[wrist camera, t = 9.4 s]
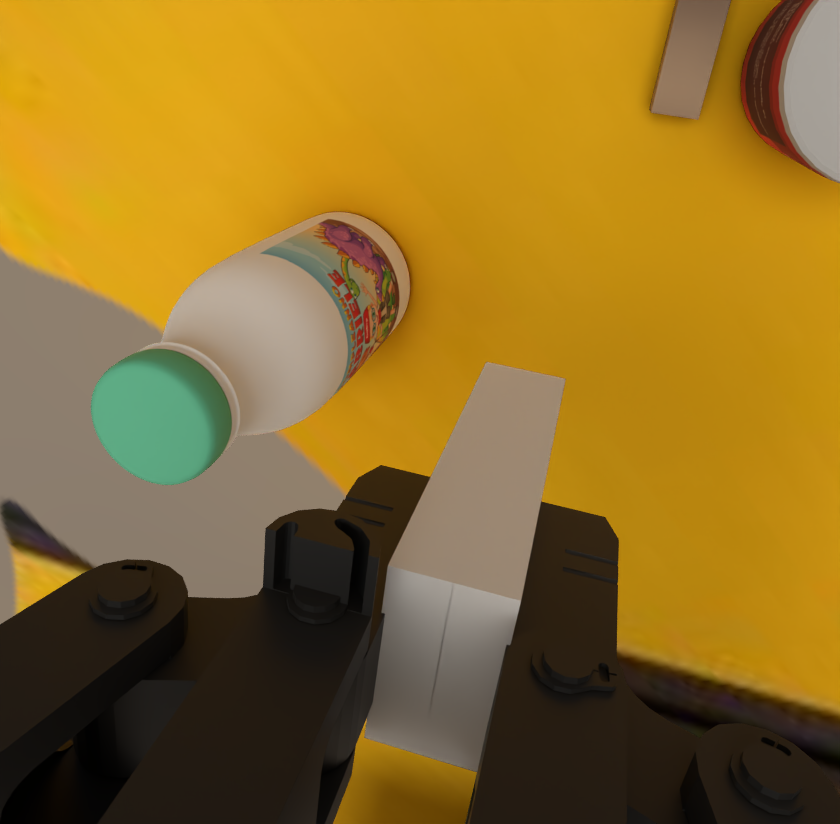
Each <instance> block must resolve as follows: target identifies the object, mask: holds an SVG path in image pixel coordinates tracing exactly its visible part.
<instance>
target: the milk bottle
mask: <svg viewBox="0 0 840 824" xmlns="http://www.w3.org/2000/svg"><path fill="white" fill-rule="evenodd" d="M409 296H410V278H409V272H408V268H407V264H406V261H405V259H404V257H403V254H402V252H401V251H400V249H399V247H398V246H397V244H396V243H395V241H394V240H393V239H392V238H391V236H390V235H389V234H388V233H387V232H386V231H385V230H383V229H382V228H381V227H380V226H378V225H377V224H375V223H374V222H372V221H370V220H369V219H367V218H364V217H362V216H359V215H356V214H352V213H346V212H329V213H324V214H321V215H318V216H315V217H312V218H309V219H307V220H305V221H303V222H301V223H298V224H296V225H294V226H292V227H290V228H288V229H285V230H283V231H281V232H279V233H277V234H275V235H273V236H271V237H268V238H266V239H264V240H262V241H260V242H258V243H256V244H254V245H252V246H250V247H248V248H246V249H244V250H242V251H240V252H238V253H236V254H234V255H232V256H230V257H229V258H227V259H225V260H223V261H222V262H220V263H218V264H216V265H215V266H213V267H211V268H210V269H208V270H207V271H206V272H205V273H203V274H202V275H201V276H200V277H198V278H197V279H196V280H195V281H194V282H193V283H192V284H191V285H190V286H189V287H188V288H187V289H186V291H185V292H184V293H183V294H182V296H181V297H180V298H179V300H178V302H177V303H176V305H175V307H174V308H173V310H172V312H171V314H170V316H169V319H168V322H167V324H166V327H165V331H164V334H163V338H162V340H161V342H160V343H155V344H151V345H149V346H146V347H144V348H142V349H141V350H139V351H138V352H137V353H134V354H132V355H130V356H128V357H127V358H125V359H123V360H121V361H119V362H118V363H117V364H115V365H114V366H112V367H111V368H109V369H108V370H107V371H106V372H105V373H104V375H103V376H102V377H101V378H100V380H99V381H98V383H97V385H96V386H95V389H94V391H93V395H92V400H91V414H92V420H93V424H94V428H95V430H96V433H97V435H98V437H99V439H100V441H101V443H102V444H103V446H104V447H105V449H106V450H107V452H108V453H109V454H110V456H111V457H112V458H113V459H114V460H115V461H116V462H117V463H118V464H119V465H120V466H122V467H123V468H124V469H126V470H127V471H128V472H130V473H132V474H133V475H135V476H137V477H139V478H141V479H143V480H146V481H149V482H152V483H156V484H162V485H174V484H180V483H183V482H186V481H189V480H191V479H194V478H196V477H197V476H199V475H200V474H201V473H203V472H204V471H205V470H206V469H207V468H209V467H210V466H211V465H212V464H213V463H214V462H215V461H216V460H217V459H218V458H219V457H220V456H221V454H223V453H224V452H225V451H226V450H228V449H229V448H230V446H231V445H232V444H233V442H234V440H235V439H236V436H240V435H256V434H264V433H270V432H274V431H278V430H281V429H284V428H287V427H289V426H292V425H294V424H296V423H298V422H300V421H302V420H304V419H305V418H307V417H308V416H310V415H311V414H313V413H314V412H316V411H317V410H318V409H319V408H321V407H322V406H323V405H324V404H325V403H326V402H327V401H328V400H329V399H330V398H331V397H332V396H333V395H335V394H336V393H337V392H338V391H339V390H340V389H341V388H342V387H343V385H344V384H345V383H346V382H347V381H348V380H349V379H350V378H351V377H352V376H353V375H354V374H355V373H356V372H357V371H358V369H359V368H360V367H361V366H362V365H363V364H364V363H365V362H366V361H367V360H368V358H369V357H370V356H371V355H372V354H373V353H374V352H375V351H376V350H377V349H378V347H379V346H380V345H381V344H382V343H383V342H384V341H385V340H386V338H387V337H388V336H389V335H390V334H391V333H392V331H393V330H394V329H395V328H396V326H397V325H398V324H399V322H400V321H401V319H402V317H403V315H404V313H405V311H406V308H407V305H408V301H409Z"/></svg>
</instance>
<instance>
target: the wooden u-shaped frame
mask: <svg viewBox="0 0 840 824" xmlns="http://www.w3.org/2000/svg"><path fill="white" fill-rule="evenodd" d="M730 2H731V0H676V2H675V7H674V11H673V15H672V19H671V23H670V27H669V31H668V35H667V39H666V43H665V47H664V51H663V56H662V60H661V64H660V68H659V72H658V76H657V80H656V84H655V88H654V92H653V96H652V100H651V105H650V109H649V110H650V111H651V113H658V114H665V115H671V116H678V117H684V118H691V119H699V115H700V112H701V108H702V104H703V101H704V97H705V93H706V90H707V86H708V82H709V79H710V75H711V71H712V68H713V64H714V60H715V57H716V53H717V49H718V46H719V42H720V38H721V35H722V31H723V27H724V24H725V20H726V16H727V13H728V9H729V6H730Z"/></svg>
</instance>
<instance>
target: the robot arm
mask: <svg viewBox="0 0 840 824" xmlns="http://www.w3.org/2000/svg"><path fill="white" fill-rule="evenodd" d="M564 384H565V379H564V378H560V377H555V376H550V375H546V374H541V373H536V372H532V371H527V370H522V369H518V368H513V367H508V366H504V365H499V364H494V363H489V362H486V364H485V366H484V368H483V370H482V372H481V374H480V376H479V378H478V380H477V382H476V384H475V386H474V389H473V391H472V393H471V395H470V397H469V399H468V401H467V403H466V405H465V407H464V409H463V411H462V413H461V415H460V417H459V420H458V422H457V424H456V426H455V428H454V430H453V432H452V434H451V436H450V438H449V440H448V442H447V444H446V446H445V448H444V451H443V453H442V455H441V457H440V459H439V461H438V463H437V465H436V467H435V469H434V471H433V473H432V475H431V477H428V476H423V475H419V474H415V473H411V472H407V471H403V470H399V469H395V468H391V467H386V466H382V465H380V466H379V467H377V468H375V469H373V470H371V471H370V472H368V473H366V474H364V475H362V476H361V477H359V478H358V479H357V480H356V482H355V483H354V485H353V486H352V488H351V489H350V491H349V492H348V494H347V495H346V499H345V500H343V502H342V503H341V505H340V506H339V508H338V509H337V511H334V510H326V509H311V510H300V511H296V512H293V513H290V514H288V515H285V516H282V517H279V518H278V519H277V520H275V521H274V522H273V523H272V524H270V525H269V526H268V527H267V528H266V533H265V555H264V578H263V588H262V589H261V591H260V592H259V594H258V595H254V596H250V597H245V598H198V597H188V591H187V588H186V585H185V583H184V580H183V577H182V576H181V575H179V574H178V573H177V572H176V571H174V570H173V569H172V568H171V567H169V566H166V565H163V564H160V563H157V562H153V561H150V560H128V559H127V560H122V561H117V562H112V563H106V564H103V565H100V566H98V567H96V568H94V569H91V570H89V571H87V572H85V573H83V574H81V575H79V576H78V577H76V578H74V579H73V580H71V581H70V582H68V583H66V584H65V585H63V586H62V587H60V588H58V589H57V590H55V591H53V592H52V593H50V594H49V595H47V596H45V597H44V598H42V599H41V600H39V601H37V602H36V603H34V604H33V605H31V606H29V607H28V608H26V609H24V610H23V611H21V612H20V613H18V614H16V615H15V616H13V617H12V618H10V619H8V620H7V621H5V622H4V623H2V624H0V824H333V821H334V819H335V816H336V814H337V811H338V808H339V806H340V803H341V801H342V798H343V796H344V793H345V790H346V788H347V785H348V783H349V780H350V778H351V774H352V768H353V761H354V754H355V746H356V743H357V740H358V738H359V736H360V733H361V731H362V728H363V726H364V723H365V721H366V718H367V723H366V730H365V738H367V739H371V740H374V741H377V742H380V743H384V744H387V745H390V746H393V747H397V748H400V749H403V750H406V751H410V752H413V753H416V754H419V755H423V756H426V757H429V758H432V759H436V760H439V761H442V762H445V763H449V764H452V765H455V766H458V767H462V768H465V769H468V770H472V771H475V772H477V775H476V780H475V784H474V788H473V793H472V797H471V801H470V805H469V810H468V814H467V818H466V822H465V824H840V797H839V795H838V793H837V791H836V789H835V788H834V786H833V785H832V783H831V782H830V781H829V779H828V778H827V776H826V775H825V774H824V772H823V771H822V770H821V768H820V767H819V766H818V764H817V763H816V762H815V761H813V760H812V759H811V758H810V757H809V756H807V755H806V754H805V753H804V752H803V751H802V750H800V749H799V748H798V747H797V746H796V745H794V744H793V743H791V742H789V741H788V740H786V739H784V738H782V737H780V736H778V735H776V734H774V733H772V732H770V731H768V730H766V729H762V728H758V727H754V726H750V725H746V724H742V723H735V724H721V725H717V726H715V727H714V728H712V729H710V730H709V731H707V732H705V733H704V734H703V735H702V737H701V738H699V737H697V736H695V735H693V734H691V733H690V732H688V731H686V730H684V729H682V728H680V727H679V726H677V725H675V724H673V723H671V722H670V721H668V720H666V719H665V718H663V717H662V716H660V715H659V714H657V713H655V712H654V711H652V710H651V709H650V708H648V707H647V706H646V705H645V704H644V703H643V702H642V701H641V700H640V699H639V698H637V697H636V696H635V694H634V693H633V692H632V691H631V689H630V688H629V687H628V685H627V684H626V680H625V677H624V673H623V669H622V668H621V667H620V665H619V664H618V662H617V655H616V653H617V601H618V585H617V582H618V566H617V565H618V548H619V539H618V538H617V536H616V534H615V533H614V531H613V529H612V528H611V526H610V524H609V523H608V521H607V519H606V518H605V517H602V516H598V515H594V514H590V513H586V512H582V511H578V510H573V509H569V508H565V507H561V506H557V505H553V504H549V503H545V502H541V499H542V494H543V489H544V484H545V479H546V474H547V469H548V464H549V459H550V454H551V449H552V444H553V439H554V434H555V429H556V424H557V419H558V414H559V409H560V404H561V399H562V394H563V389H564Z"/></svg>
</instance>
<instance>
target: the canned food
mask: <svg viewBox="0 0 840 824" xmlns="http://www.w3.org/2000/svg"><path fill="white" fill-rule="evenodd" d="M741 94H742V102H743V106H744V109H745V112H746V116H747V118H748V120H749V121H750V123H751V125H752V127H753V128H754V130H755V132H756V133H757V134H758V135H759V136H760V137H761V138H762V139H763V140H764V141H765V142H766V143H767V144H769V145H770V146H772V147H773V148H775V149H776V150H778V151H779V152H781V153H783V154H784V155H786V156H788V157H790V158H791V159H793V160H795V161H797V162H798V163H800V164H802V165H804V166H805V167H807V168H809V169H811V170H812V171H814V172H816V173H818V174H819V175H821V176H823V177H826V178H828V179H830V180H833V181H835V182H838V183H840V0H782V1H781V2H780V3H779V4H778V5H777V6H776V7H774V8H773V9H772V11H771V12H770V13H769V15H768V16H767V17H766V19H765V20H764V21H763V22H762V24H761V25H760V26H759V28H758V30H757V32H756V34H755V35H754V37H753V39H752V41H751V43H750V45H749V48H748V51H747V54H746V57H745V60H744V63H743V69H742V76H741Z"/></svg>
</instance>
